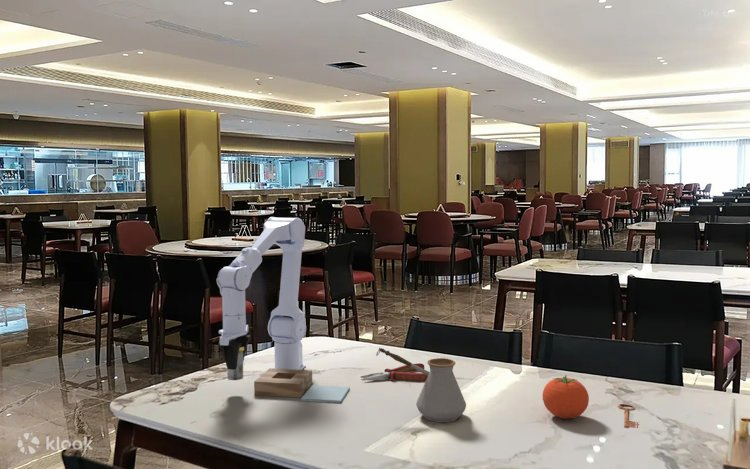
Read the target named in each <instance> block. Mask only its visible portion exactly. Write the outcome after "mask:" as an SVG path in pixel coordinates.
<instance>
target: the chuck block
mask: <svg viewBox="0 0 750 469" xmlns="http://www.w3.org/2000/svg"><path fill="white" fill-rule="evenodd" d="M253 384H254V385H253V388H254V389H253V393H254V395H255V396H266V397H268V396H269V397H283V398H284V397H287V398H302V397H303V396H304V395H303V394H305V393H306V392H307V391H308V390H309V389H310V388H309V387H311V386H312V385H313V370H311V369H309V370H308V369H302V370H294V369H274V368H267V370H265V371H264V372H263V373H262V374H261V375H259V376H258V378H256V379H255V380H254V382H253Z"/></svg>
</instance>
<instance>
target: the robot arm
mask: <svg viewBox="0 0 750 469" xmlns="http://www.w3.org/2000/svg"><path fill="white" fill-rule="evenodd" d="M305 234H306V226H305V224H304V222H303V220H302V219H301V218H299V217H275V216H270V217H269V218H268V219H266V221H265V222H264V223H263V231H262V232H261V234H260V235H259V236H258V238H257V239H256V241H254V243H253V245H252V246H251V247H250V246H249V247H244V248H243V249H241V252H240V253H239V254H238V255H237V257H235V259H234V260H232V262H231V263H230V264H229V265H228V266H223V268H221V269H220V270H219V271H218V274H217V278H216V279H215V280H216V284H217V286H218V288H219V293H220V296H221V297H222V298H221V299H222V307H221V308H222V329H219V330H218V334H219V335H221V336H220V337H219V341H218V343H217V344H218V348H219V349H220V351H221V353H222V355H223V357H224V362H225V365H226V368H227V369H232V370H235V369H236V367H237V360H238V353H239V349H240V346H241V345H242V346H244V350H243V362H244V361H245V356H246V352H247V348H248V345H249V342H250V341H251V338H252V336H251V335H249V334H248V333H249V324H247V318H246V317H247V315H246V312H247V311H246V309H247V308H246V289H247V288H248V287H249V286H250V283H251V278H252V277H253V273H254V272H255V271H256V270H257V269H258V267H260V265H261V263H262V262H263V257H262V256H263V255H264V254H265V253H266V252H268V250H269V249H270V248H271V247H272V246H273V245H276V246H279V247H280V249H281V250H282V252H283V253H282V263H281V273H280V275H281V276H280V285H279V286H280V287H279V288H280V289H279V297H278V299H279V300H278V306H276V307H275V308H274V309H272V311H270V317H269V320H268V324H267V331H268V335H269V336H270V337H271V340H272V341H274V368H273V369H294V370H304V368H305V367H307V366H306V364H305V363H304V362H303V343H302V340H303V338H304V337H305V335H306V332H307V325H306V324H307V323H306V313H304V312H303V311H302V310H301V309H300V308H299V307H298V303H299V302H298V300H299V291H300V289H299V288H300V279H301V278H300V277H301V267H302V266H301V265H302V253H303V248H304V246H305V236H306V235H305Z"/></svg>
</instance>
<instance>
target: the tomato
mask: <svg viewBox="0 0 750 469" xmlns="http://www.w3.org/2000/svg"><path fill="white" fill-rule="evenodd" d="M541 396H542V397H541V398H542V402H543V405H544V407H545V409H547V411H549V413H550V414H552V415H553V416H555V417H558V418H560V419H564V420H566V419H568V420H570V419H574V418H577V417H579V416H581V415H582V414H583V413H584V412H586V410H587V408H588V407H589V401H590V398H589V392H588V390H587V389H586V387H585V386H584V385H583V384H582V382H580V381H578V379H575V378H570V377H567V374H565V376H562V377H555V378H552V379H551V380H550V381H549V382H547V383H546V385H545V386H544V387H543V390H542V394H541Z"/></svg>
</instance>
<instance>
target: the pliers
mask: <svg viewBox="0 0 750 469" xmlns="http://www.w3.org/2000/svg"><path fill="white" fill-rule="evenodd" d="M413 364H414V365H416V366H418V367H420V368H422V369H424V370H425V365H424V364H423V363H421V362H420V363H413ZM410 371H411V372H410ZM427 377H428V376H427V375H425V374H424V373H422V372H417V370H416V369H414V368H412V367H410V366H408V365H405V364H403V365H401V366H398V367H395V368H392V369H391V368H385V369H384V372H383V371H378V372H374V373H370V374H364V375H361V376H360V378H361V379H362V381H385V380H389V381H390V382H394V381H404V380H405V381H407V382H408V381H409V382H426V379H427Z"/></svg>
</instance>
